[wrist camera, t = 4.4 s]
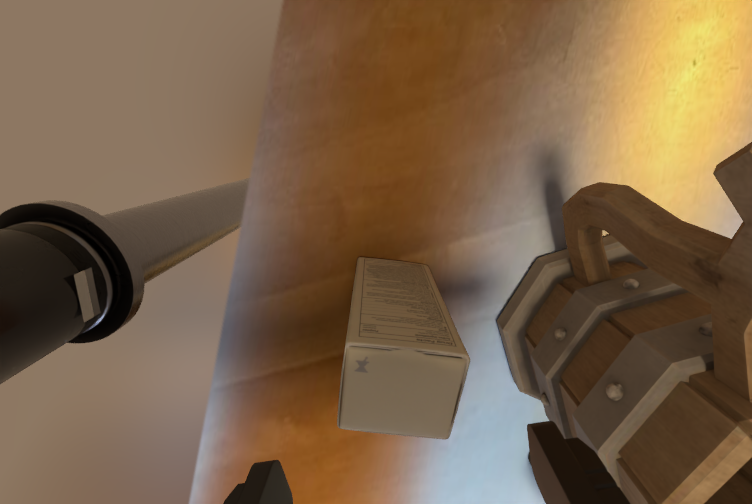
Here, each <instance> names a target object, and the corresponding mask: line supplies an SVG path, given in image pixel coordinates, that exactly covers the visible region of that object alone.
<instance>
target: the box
mask: <svg viewBox="0 0 752 504" xmlns="http://www.w3.org/2000/svg"><path fill="white" fill-rule="evenodd" d="M469 363H470V358H469V355H468V353H467V351H466V349H465V347H464V345H463V343H462V341H461V339H460V336H459V334H458V332H457V330H456V328H455V325H454V323H453V321H452V318H451V316H450V314H449V312H448V310H447V307H446V305H445V303H444V300H443V298H442V296H441V294H440V292H439V290H438V287H437V285H436V283H435V280H434V278H433V276H432V273H431V271H430V269H429V267H428V266H427V265H424V264H417V263H411V262H404V261H395V260H386V259H377V258H365V257H359V258H358V260H357V266H356V273H355V280H354V286H353V293H352V301H351V309H350V316H349V322H348V330H347V337H346V344H345V351H344V358H343V365H342V374H341V383H340V393H339V405H338V419H337V425H338V427H339V428H341V429H347V430H355V431H364V432H373V433H382V434H391V435H403V436H414V437H425V438H436V439H448V438H449V436H450V433H451V430H452V427H453V423H454V419H455V416H456V413H457V409H458V405H459V402H460V398H461V394H462V391H463V387H464V383H465V379H466V375H467V371H468V367H469Z"/></svg>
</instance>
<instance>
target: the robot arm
mask: <svg viewBox="0 0 752 504" xmlns="http://www.w3.org/2000/svg"><path fill="white" fill-rule="evenodd" d="M116 296H117V284H116V278H115V275H114V272H113V269H112V267H111V265H110V263H109V261H108V259H107V258H106V256H105V255H104V254H103V252H102V251H101V250H100V249H99V247H98V246H97V245H96V244H95V243H94V242H93V241H91V240H90V239H89V238H88V237H86V236H85V235H84V234H82V233H81V232H79V231H77V230H76V229H74V228H72V227H69V226H67V225H64V224H61V223H58V222H54V221H47V220H34V221H28V222H23V223H19V224H15V225H11V226H9V227H7V228H3V229H0V384H1V383H3V382H4V381H6V380H8V379H9V378H11V377H12V376H14V375H16V374H17V373H19V372H20V371H22V370H23V369H25V368H27V367H28V366H30V365H31V364H33V363H35V362H36V361H38V360H40V359H41V358H43V357H44V356H46V355H47V354H49V353H51V352H52V351H54V350H56V349H57V348H59V347H60V346H62V345H64V344H65V343H67V342H69V341H70V340H72V339H73V338H75V337H76V336H78V335H80V334H81V333H84V332H86V331H88V330H90V329H92V328H93V327H95V326H96V325H98V324H99V323H101V322H102V321H103V320H105V319H106V318H107V317H108V315H109V314H110V313H111V311H112V309H113V307H114V305H115V301H116ZM527 431H528V440H529V450H530V459H531V465H532V470H533V473H534V476H535V479H536V482H537V485H538V487H539V489H540V492H541V494H542V496H543V498H544V501H545V503H546V504H630V502H629V501H628V499H627V498H626V496H625V495H624V493H623V492H622V490H621V489H620V488H619V487H618V486H617V483H616V482H615V480H614V479H613V477H612V476H611V474H610V473H609V472H608V471H607V468H606V467H605V465H604V464H603V462H602V461H601V460H600V458H599V457H598V455H597V454H596V452H595V451H594V450H593V449H592V448H590V447H589V446H588V445H587V444H585V443H584V442H583V441H581V440H580V439H579V438H578V437H576V438H569V439H564V437H563V435H562V434H561V432H560V430H559V429H558V427H557V425H556V424H555V423H554V422H553V421H546V422H540V423H533V424H528V425H527ZM224 504H293V498H292V493H291V490H290V488H289V485H288V482H287V480H286V477H285V474H284V471H283V469H282V466H281V464H280V462H279V461H278V460H273V461H266V462H259V463H255V464H253V466H252V467H251V469H250V472H249V474H248V476H247V479H246V481H245V483H242V484H238V485H237V486H236V487H235V489H234V490H233V491H232V492H231V494H230V495H229V496H228V497H227V499H226V500H225V501H224Z"/></svg>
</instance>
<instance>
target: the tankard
mask: <svg viewBox="0 0 752 504" xmlns="http://www.w3.org/2000/svg"><path fill="white" fill-rule="evenodd" d="M713 174H714V176H715V177H716V179H717V180H718V182H719V184H720V185H721V187H722V188H723V190H724V191H725V193H726V195H727V196H728V198H729V199H730V201H731V202H732V204H733V206H734V207H735V209H736V210H737V212H738V213H739V215H740V217H741V218H742V220H743V223H742V224H741V226H740V227H739V229H738V230H737V232H736V233H735V235H734V236H733V238H732V239H730V238H727V237H725V236H722V235H719V234H716V233H714V232H711V231H708V230H706V229H703V228H700V227H698V226H695V225H692V224H689V223H687V222H684V221H682V220H680V219H679V218H677V217H675V216H674V215H672V214H671V213H669V212H668V211H666V210H665V209H663V208H662V207H660V206H659V205H657V204H656V203H654V202H652V201H651V200H649V199H648V198H646V197H645V196H643V195H642V194H640V193H639V192H637V191H636V190H634V189H633V188H631V187H629V186H627V185H618V184H610V183H602V182H599V183H596V184H593V185H590V186H587V187H584V188H581V189H580V190H579V191H578V192H577V193H576V194H575V195H573V196H572V197H571V198H570V199H569V200H568V201H567V202H566V203H565V204H564V205H563V207H562V212H563V220H564V229H565V237H566V243H567V247H568V249H565V250H561V251H558V252H555V253H552V254H549V255H546V256H542V257H539V258H537V259H536V261H535V263H534V264H533V266H532V267H531V269H530V270H529V272H528V273H527V275H526V276H525V278H524V280H523V281H522V283H521V284H520V286H519V287H518V289H517V290H516V292H515V293H514V295H513V297H512V298H511V300H510V301H509V303H508V304H507V306H506V307H505V309H504V310H503V312H502V313H501V315H500V317H499V318H498V320H497V323H498V327H499V330H500V334H501V337H502V341H503V344H504V348H505V351H506V355H507V358H508V362H509V365H510V369H511V372H512V376H513V379H514V381H515V383H516V385H517V387H518V389H519V390H520V392H523V393H525V394H527V395H530V396H532V397H534V398H537V399H539V400H541V402H542V403H543V405H544V408H545V412H546V416H547V417H548V419H549V421H553V422H554V423H555V424H556V425H557V427H558V429H559V430H560V432H561V434H562V435H563V437H564V439H569V438H576V437H578V438H579V439H580V440H581V441H583V442H584V443H585V444H587V445H588V446H589V447H590V448H592V449H593V450H594V451H595V452H596V454H597V455H598V457H599V458H600V460H601V461H602V462H603V464H604V465H605V467H606V468H607V471H608V472H609V473H610V474H611V476H612V477H613V479H614V480H615V482H616V483H617V486H618V487H619V488H620V489H621V490H622V492H623V493H624V495H625V496H626V498H627V499H628V501H629V502H630V504H752V142H751V143H750V144H748V145H747V146H745V147H744V148H742V149H741V150H739V151H738V152H736V153H735V154H733V155H731V156H730V157H728V158H727V159H725V160H724V161H722V162H721V163H719V164H718V165H717V166H716V168H715V171H714V173H713ZM602 230H605V231H607V232H608V233H609V234H610V235H609V236H606V237H603V238H602Z"/></svg>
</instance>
